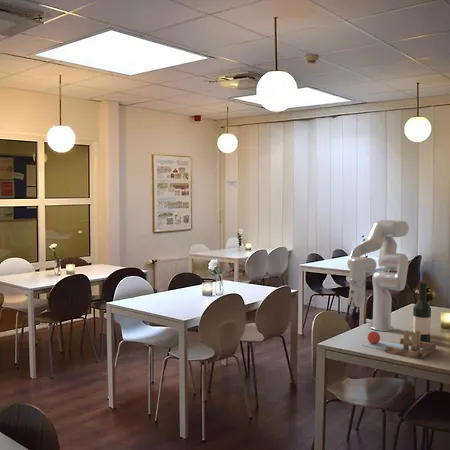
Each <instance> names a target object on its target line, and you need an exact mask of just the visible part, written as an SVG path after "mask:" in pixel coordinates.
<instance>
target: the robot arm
mask: <svg viewBox="0 0 450 450" xmlns="http://www.w3.org/2000/svg"><path fill="white" fill-rule="evenodd" d="M407 222H408V221H407ZM407 222H406V221H405V220H395V219H394V220H392V219H382V220H376V221H375V222H373V224H372V225H371V228H370V230H369V232H368V235H367V237H366V239H365V241H362V242H361V243H359V244H358V245H356V246H355V247H354V248H353V249H352V250H351V252H350V254H349V257H348V260H347V268H348V270H349V281H348V283H349V284H348V285H349V293H348V305H349V306H350V310H351V320H353V321H359V320H360V312H361V308H362V306H364V305H366V289H365V287H366V273H373V272H374V271H375V272H374V273H373V274H372V279H371V280H372V289H373V299H372V300H373V304H372V305H373V306H372V319H369V318H366V319H365V322H366V324H370V325H369V328H370V329H371V330H374V331H378V332H379V331H380V332H390V331H393V330H394V326H393V325H391V324H392V323H391V321H392V300H393V299H392V295H391V292H390V291H389V290H391V291H403V290H404V289H405V286H406V284H407V283H406V282H407V276H408V270H409V257H408V256H407V255H406V254H404V253H400V252H399V253H398V252H397V249H398V244H397V242H396V240H395V238H401V237H406V235H408V232H409V223H407ZM379 250H380V251H379ZM377 251H379V256H378V261H376V260H375V258H371V257H366V256H365V257H364V255H366V254H369V253H372V252H377ZM377 262H378V263H377ZM377 264H378V267H379V268H380V269H382V270H385V271H382V270H379V271H376V269H377ZM386 270H388V271H386ZM392 271H396V272H392Z"/></svg>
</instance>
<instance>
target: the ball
mask: <svg viewBox="0 0 450 450" xmlns="http://www.w3.org/2000/svg"><path fill="white" fill-rule="evenodd" d="M367 341H368V342H370V343H372V344H376V343H378V342H379V341H381V335H380V334H379V333H378V332H376V331H375V330H374V331H370V332H369V333H368V334H367Z"/></svg>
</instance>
